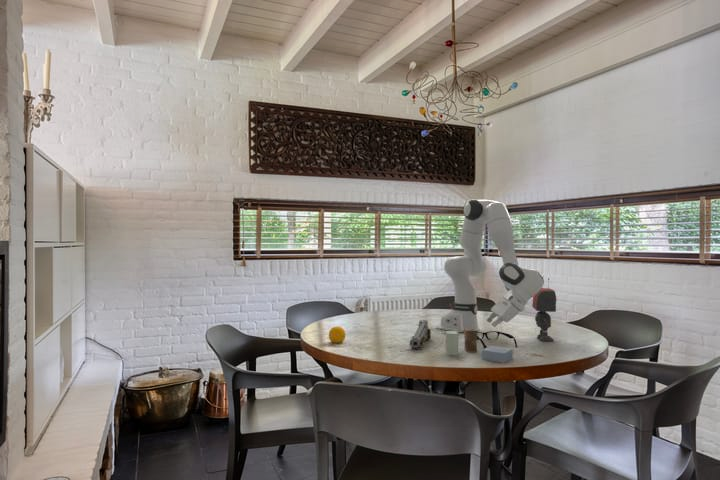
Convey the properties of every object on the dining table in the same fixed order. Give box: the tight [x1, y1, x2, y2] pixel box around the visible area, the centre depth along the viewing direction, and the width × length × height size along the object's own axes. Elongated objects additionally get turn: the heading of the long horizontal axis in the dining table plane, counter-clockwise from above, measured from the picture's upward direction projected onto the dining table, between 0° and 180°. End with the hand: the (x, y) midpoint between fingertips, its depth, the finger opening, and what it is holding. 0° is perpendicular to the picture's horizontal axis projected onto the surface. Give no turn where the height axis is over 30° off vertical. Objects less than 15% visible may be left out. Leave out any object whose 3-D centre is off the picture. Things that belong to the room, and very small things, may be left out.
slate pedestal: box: [481, 345, 514, 364], centre depth 183 cm, size 9×9×4 cm
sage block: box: [445, 330, 459, 356], centre depth 190 cm, size 4×4×9 cm
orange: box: [328, 326, 347, 344], centre depth 211 cm, size 8×8×8 cm
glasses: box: [477, 330, 518, 349], centre depth 208 cm, size 17×18×5 cm
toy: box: [409, 319, 432, 350], centre depth 207 cm, size 6×24×10 cm, turn 161°
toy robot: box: [531, 276, 557, 343], centre depth 216 cm, size 22×9×30 cm, turn 168°
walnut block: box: [464, 329, 478, 353], centre depth 196 cm, size 4×4×9 cm
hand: (490, 323), depth 195 cm, fingers open, 8 cm apart
